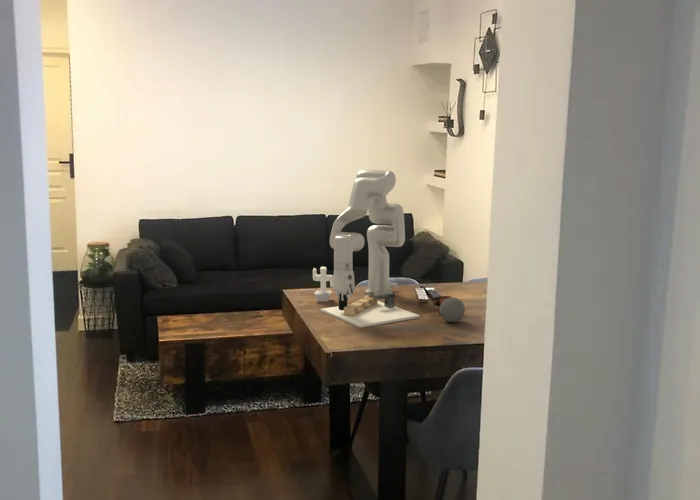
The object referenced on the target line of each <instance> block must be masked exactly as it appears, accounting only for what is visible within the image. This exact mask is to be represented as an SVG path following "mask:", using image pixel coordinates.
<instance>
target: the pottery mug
mask: <svg viewBox="0 0 700 500" xmlns="http://www.w3.org/2000/svg"><path fill="white" fill-rule="evenodd" d="M450 297H452V296H449V295H442V296H438V297H435V298H434V302H433V306H437V307H440V305H441V303H442V302H443V301H444V300H445V299H447V298H450ZM437 311H438V315H440V316H441V314H440V309H438V310H437Z"/></svg>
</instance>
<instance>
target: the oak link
mask: <svg viewBox="0 0 700 500" xmlns="http://www.w3.org/2000/svg"><path fill="white" fill-rule="evenodd" d="M373 295H374V291H368V294H365V295H364V296H363V297H362V298H360V299H358V300H356V301H353V302H352V303H349V304H347V305H348V306H346V307H344V315H351V316H353V315H355V314H357V313H359V312H361V311H363V310H365V309H367V308H368V307H370V306H372V305H376V304H378V301H379V300H377V299H374V298H373Z"/></svg>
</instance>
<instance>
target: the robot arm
mask: <svg viewBox="0 0 700 500" xmlns="http://www.w3.org/2000/svg"><path fill="white" fill-rule="evenodd" d="M396 182H397V180H396V174H395V172H394V171H391V170H384V169H382V170H378V169H362V170H359V171H358V172H357V174H356V179H355V180H354V182H353V184H352V188H351V192H350V193H351V194H350V197H349V201H348V206H347V208H346V209H345V210H344V211H343V212H342V213H340V214H339V215H338V216H337V218H336V219H335V220H334V222H333V224H332V228H331V232H330V236H329V245H330V248H332V249H333V287H332V289H333V290H332V291H334V293H335V294H336V295H337V300H338V306H339V310H344V307H346V306H347V305H348V301H349V299H351V298H352V294H355V291H356V286H355V285H356V284H355V273H354V270H353V265H354V264H353V252H359V251H361V250H362V249H363V248H364V246H365V237H364V236H363V235H362V234H361V233H359V232H349V231H347V232H346V231H342V230H343V228H344V227H345V226H346V225H347V224H350V223H351V222H354V221H357V220H359V219H362V218H364V217H366V216H367V214H368V218H369V221H370V222H371V223H373V225H371V226H369V227H368V228H367V231H366V238H367V239H366V240H367V245H368V281H367V282H368V286H367V288H365V290H364V293H366V295H368V291H374V295H375V294H382V293H386V292H392V293H393V290H392V288H397V287H398V283H397V282H390V253H389V251H388V250H387V248H386V247H390V248H391V247H392V248H393V247H394V248H399V247H402V246H404V245H405V244H404V243H405V241H406V230H405V229H406V228H405V227H406V226H405V213H404V208H403V206H402V205H401V204H398V203H393V202H392V203H389V202H388V201H387V196H388V195H389V194H390V192H392V190H393V189H394V188H395V185H396Z"/></svg>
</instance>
